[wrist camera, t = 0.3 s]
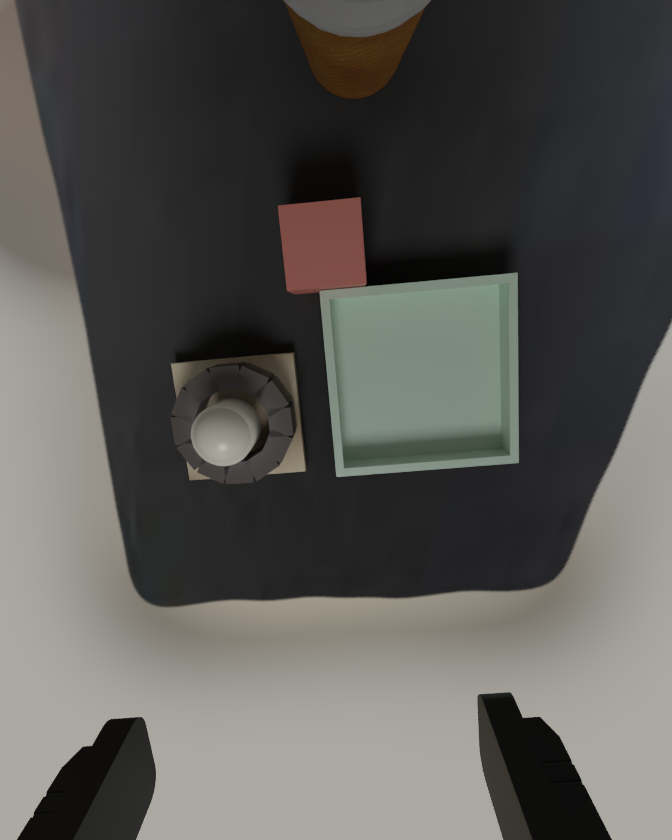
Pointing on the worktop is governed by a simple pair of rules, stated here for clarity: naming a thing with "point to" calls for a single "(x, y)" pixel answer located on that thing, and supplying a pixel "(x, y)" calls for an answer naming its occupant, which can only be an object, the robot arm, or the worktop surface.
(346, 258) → the cube
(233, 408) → the dome
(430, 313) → the tray
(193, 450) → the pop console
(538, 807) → the robot arm
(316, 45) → the disposable coffee cup
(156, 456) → the worktop surface
